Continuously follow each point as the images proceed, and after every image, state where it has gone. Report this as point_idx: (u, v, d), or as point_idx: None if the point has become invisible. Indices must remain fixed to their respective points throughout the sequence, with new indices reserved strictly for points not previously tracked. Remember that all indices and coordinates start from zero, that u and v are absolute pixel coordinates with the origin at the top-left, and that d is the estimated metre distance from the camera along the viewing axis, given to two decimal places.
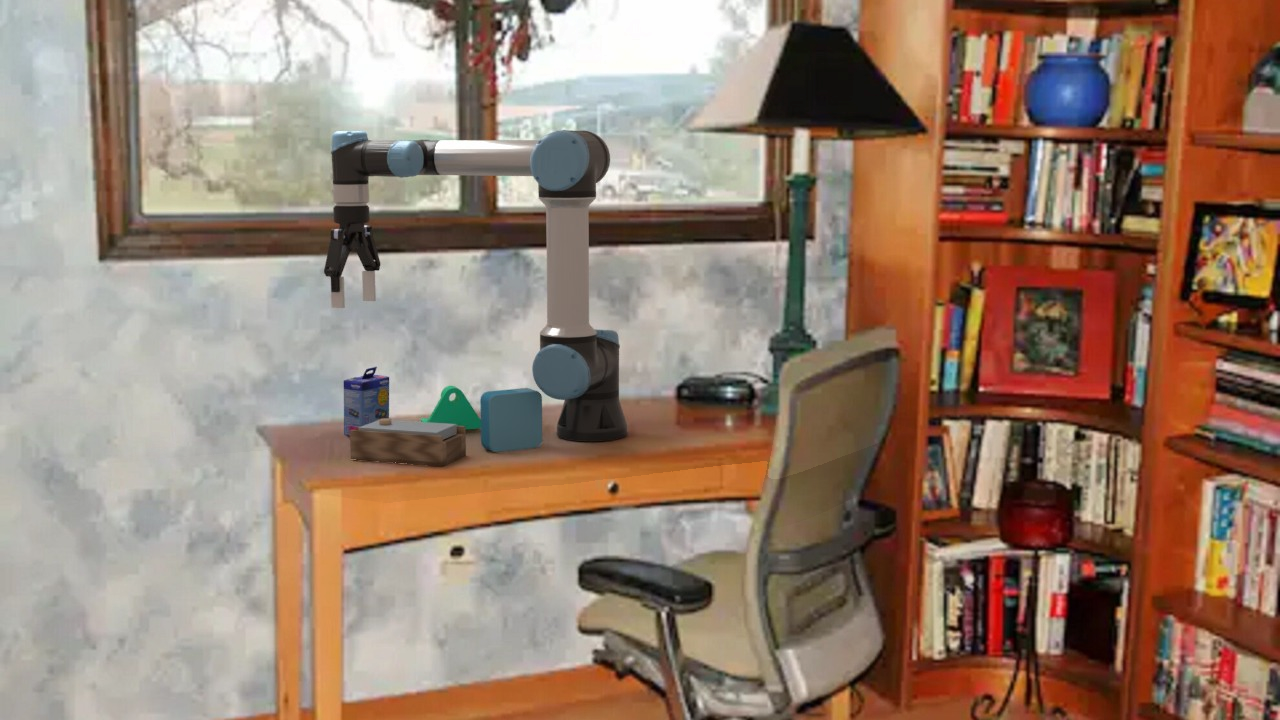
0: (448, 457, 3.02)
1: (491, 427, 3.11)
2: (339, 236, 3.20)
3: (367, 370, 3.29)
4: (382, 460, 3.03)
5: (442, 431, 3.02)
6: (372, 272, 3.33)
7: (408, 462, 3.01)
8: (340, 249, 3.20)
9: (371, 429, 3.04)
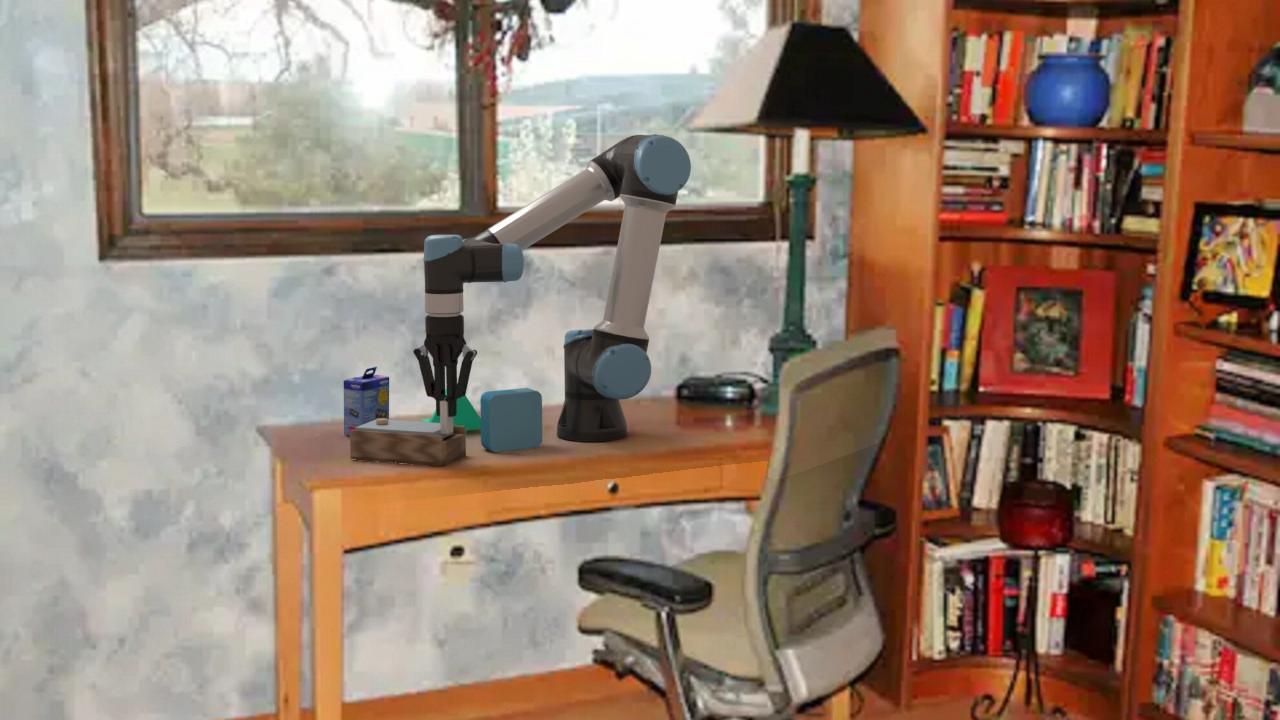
0: (448, 457, 3.02)
1: (491, 427, 3.11)
2: None
3: (367, 370, 3.29)
4: (382, 460, 3.03)
5: (439, 431, 3.02)
6: None
7: (408, 462, 3.01)
8: (423, 369, 3.02)
9: (368, 429, 3.04)
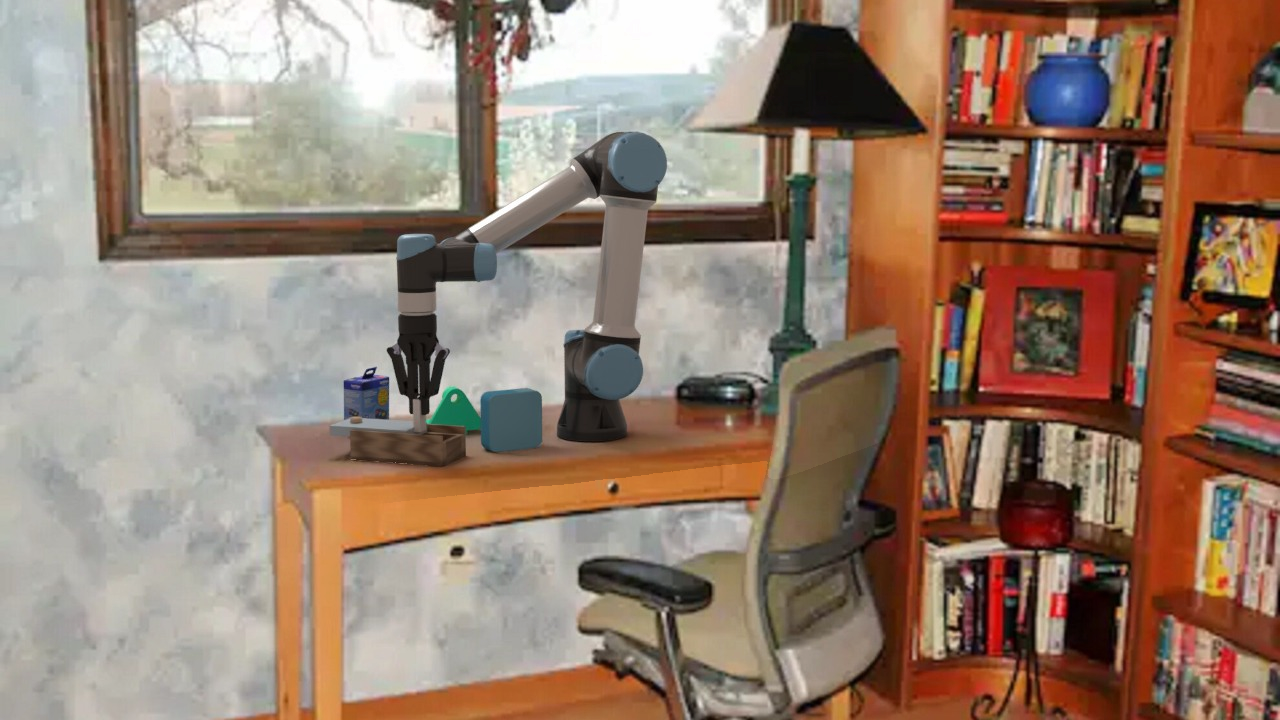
0: (448, 457, 3.02)
1: (491, 427, 3.11)
2: None
3: (367, 370, 3.29)
4: (382, 460, 3.03)
5: (412, 429, 3.04)
6: None
7: (408, 462, 3.01)
8: (396, 367, 3.04)
9: (342, 427, 3.06)
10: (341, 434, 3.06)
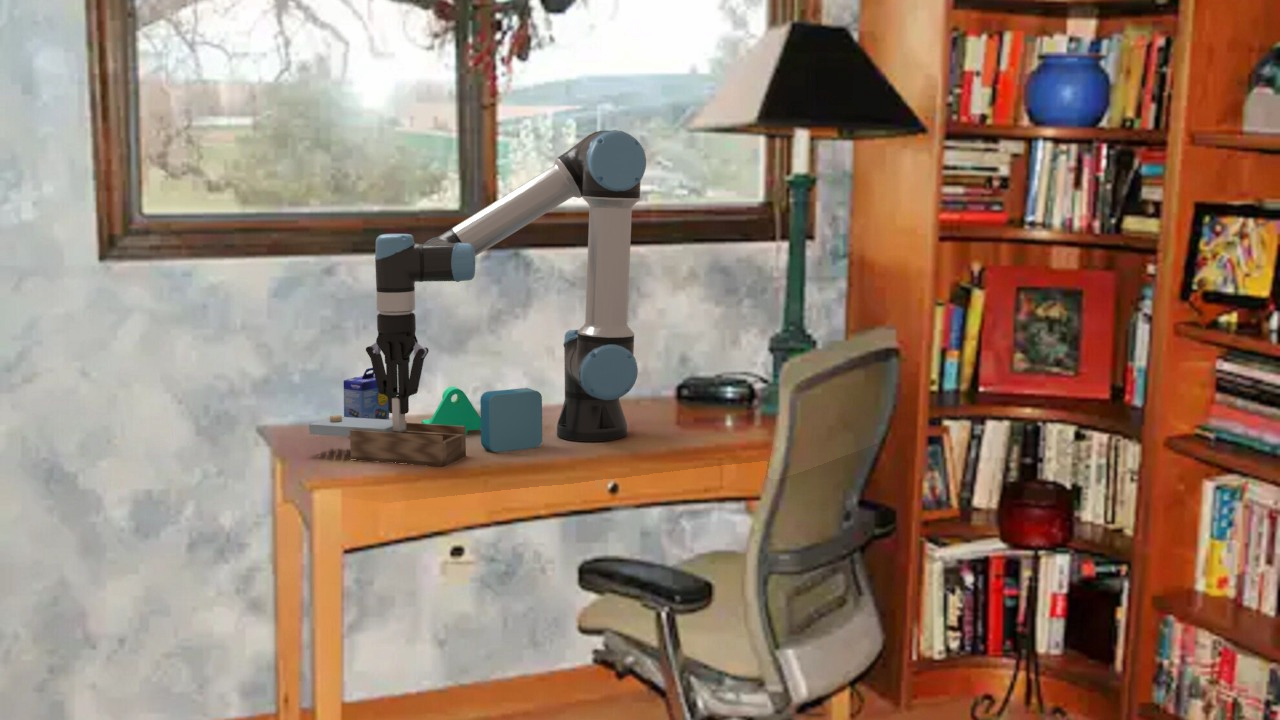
0: (448, 457, 3.02)
1: (491, 427, 3.11)
2: None
3: (367, 370, 3.29)
4: (382, 460, 3.03)
5: (391, 427, 3.06)
6: None
7: (408, 462, 3.01)
8: (375, 366, 3.05)
9: (321, 426, 3.07)
10: (320, 433, 3.08)
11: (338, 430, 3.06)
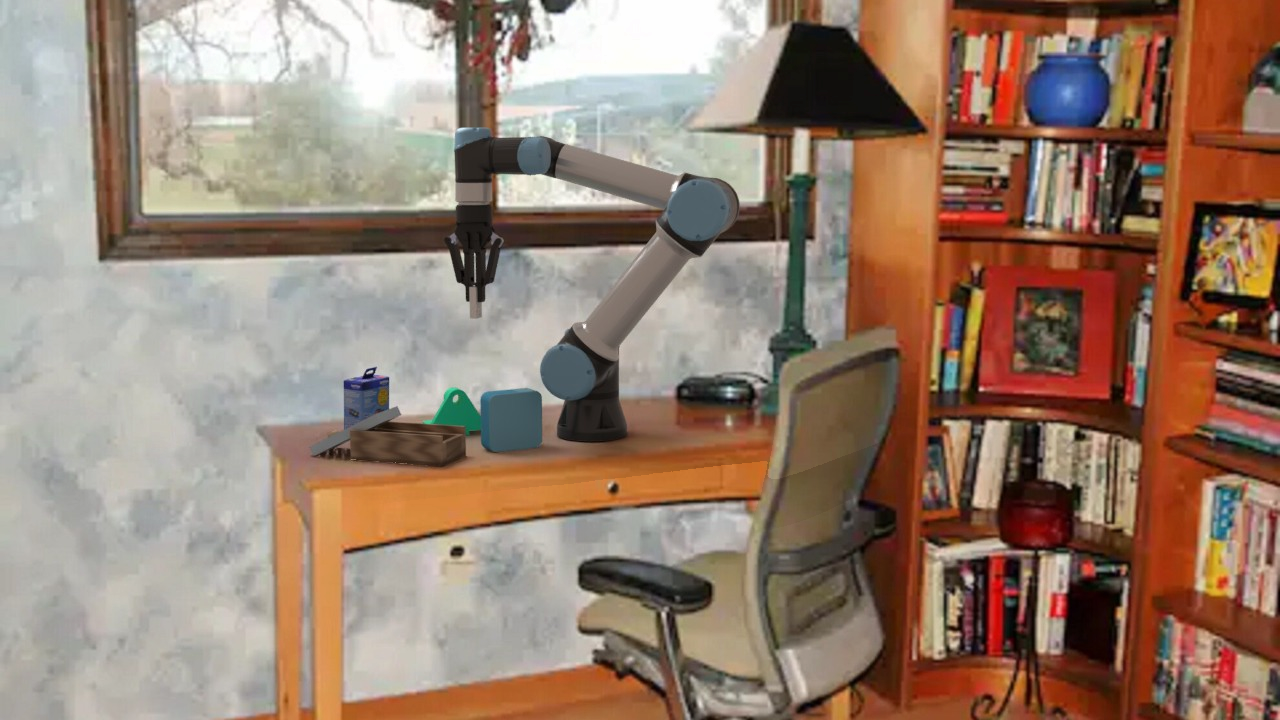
0: (448, 457, 3.02)
1: (490, 427, 3.11)
2: None
3: (367, 370, 3.29)
4: (382, 460, 3.03)
5: (382, 412, 3.06)
6: None
7: (408, 462, 3.01)
8: (453, 256, 3.17)
9: (320, 442, 3.08)
10: (322, 449, 3.08)
11: (337, 438, 3.07)
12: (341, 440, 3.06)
